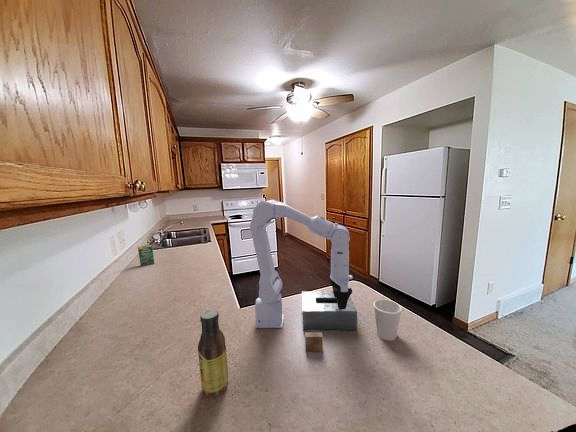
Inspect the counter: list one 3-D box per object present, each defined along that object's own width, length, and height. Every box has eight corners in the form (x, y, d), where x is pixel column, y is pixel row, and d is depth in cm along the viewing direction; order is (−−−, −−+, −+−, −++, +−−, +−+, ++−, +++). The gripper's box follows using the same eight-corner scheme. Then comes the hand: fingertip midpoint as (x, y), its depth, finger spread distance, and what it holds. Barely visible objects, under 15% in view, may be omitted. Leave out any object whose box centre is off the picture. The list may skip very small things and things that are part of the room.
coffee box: (140, 266, 143) (137, 247, 142) (139, 265, 146) (137, 246, 144) (154, 263, 148) (152, 244, 146) (154, 262, 150) (152, 244, 149)
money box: (303, 330, 75) (302, 311, 74) (302, 308, 89) (301, 291, 88) (356, 330, 74) (357, 311, 73) (347, 308, 88) (347, 291, 87)
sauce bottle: (206, 377, 57) (200, 305, 55) (230, 375, 58) (225, 303, 55) (198, 402, 51) (190, 321, 48) (225, 399, 51) (220, 319, 49)
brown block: (305, 352, 65) (305, 336, 64) (305, 347, 67) (305, 332, 66) (322, 352, 65) (322, 336, 64) (321, 347, 67) (321, 332, 66)
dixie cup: (379, 323, 77) (379, 296, 76) (404, 334, 72) (406, 305, 70) (368, 335, 72) (368, 306, 70) (395, 347, 66) (396, 316, 64)
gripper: (358, 271, 64) (357, 314, 66) (347, 256, 79) (346, 292, 81) (334, 271, 65) (334, 314, 66) (327, 256, 79) (327, 292, 81)
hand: (339, 302), depth 74 cm, fingers open, 7 cm apart
